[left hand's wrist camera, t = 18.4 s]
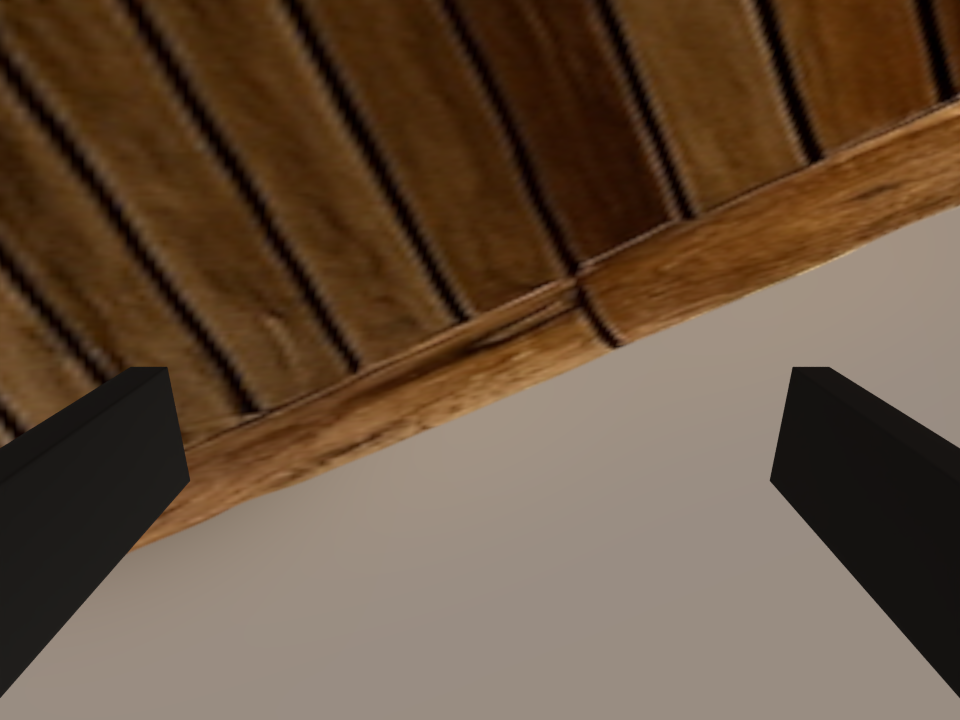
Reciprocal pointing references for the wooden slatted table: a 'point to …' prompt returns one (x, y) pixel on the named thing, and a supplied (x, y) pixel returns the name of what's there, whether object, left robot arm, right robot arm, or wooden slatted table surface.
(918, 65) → the wooden slatted table surface
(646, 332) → the wooden slatted table surface
